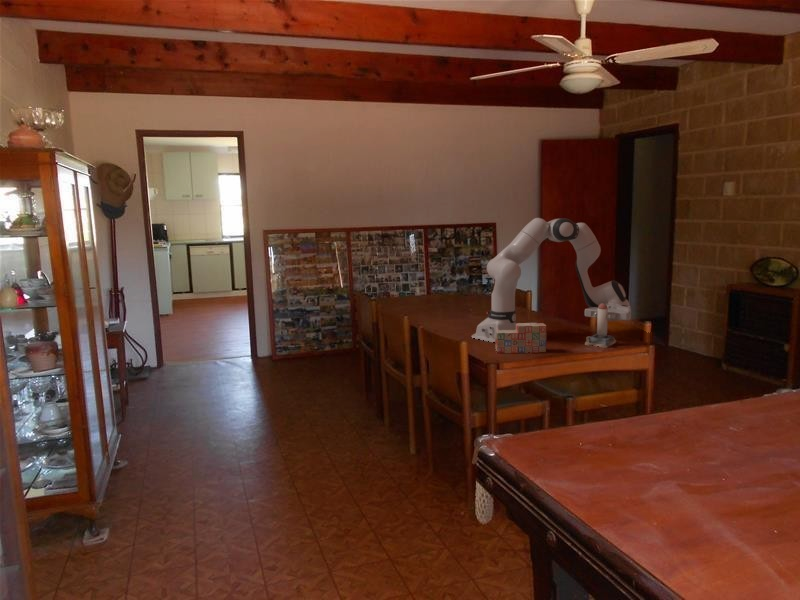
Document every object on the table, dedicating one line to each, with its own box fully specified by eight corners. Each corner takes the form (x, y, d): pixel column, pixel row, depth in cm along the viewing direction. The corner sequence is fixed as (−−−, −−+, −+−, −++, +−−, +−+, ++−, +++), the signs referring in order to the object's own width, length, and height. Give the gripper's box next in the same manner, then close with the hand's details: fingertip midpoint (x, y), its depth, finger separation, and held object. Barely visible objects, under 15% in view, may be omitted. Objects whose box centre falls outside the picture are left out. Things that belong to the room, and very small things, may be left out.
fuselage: (595, 335, 269) (596, 303, 267) (599, 333, 273) (599, 302, 270) (605, 336, 267) (606, 304, 264) (608, 334, 270) (609, 302, 268)
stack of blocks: (497, 353, 260) (497, 326, 258) (495, 350, 266) (495, 323, 264) (546, 352, 259) (546, 325, 257) (543, 349, 265) (543, 322, 263)
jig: (584, 344, 271) (585, 337, 270) (594, 339, 280) (594, 332, 279) (607, 347, 264) (607, 339, 264) (615, 342, 274) (616, 334, 273)
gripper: (590, 303, 284) (579, 307, 273) (634, 306, 272) (624, 311, 261) (590, 316, 285) (579, 321, 274) (634, 320, 273) (624, 325, 262)
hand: (601, 316), depth 268 cm, fingers closed on fuselage, 4 cm apart
